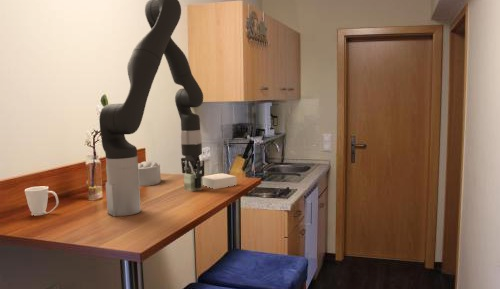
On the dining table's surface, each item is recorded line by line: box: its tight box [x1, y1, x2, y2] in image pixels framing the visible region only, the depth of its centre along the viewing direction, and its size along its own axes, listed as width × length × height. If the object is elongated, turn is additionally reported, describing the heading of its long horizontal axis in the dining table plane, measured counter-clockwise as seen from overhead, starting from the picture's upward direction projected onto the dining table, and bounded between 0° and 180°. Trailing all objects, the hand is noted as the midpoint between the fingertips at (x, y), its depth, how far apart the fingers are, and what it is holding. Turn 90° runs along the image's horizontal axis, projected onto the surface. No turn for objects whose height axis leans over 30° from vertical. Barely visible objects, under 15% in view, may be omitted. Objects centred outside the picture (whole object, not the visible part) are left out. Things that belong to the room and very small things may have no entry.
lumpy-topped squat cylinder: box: [138, 160, 162, 187], centre depth 184 cm, size 10×13×9 cm
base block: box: [202, 172, 237, 190], centre depth 175 cm, size 10×10×4 cm
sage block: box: [183, 172, 204, 192], centre depth 168 cm, size 5×5×6 cm
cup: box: [24, 185, 59, 217], centre depth 139 cm, size 7×10×8 cm
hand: (193, 186), depth 168 cm, fingers open, 6 cm apart
